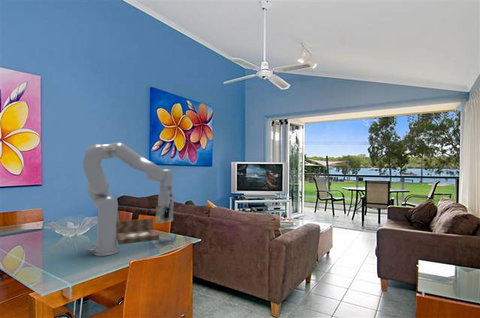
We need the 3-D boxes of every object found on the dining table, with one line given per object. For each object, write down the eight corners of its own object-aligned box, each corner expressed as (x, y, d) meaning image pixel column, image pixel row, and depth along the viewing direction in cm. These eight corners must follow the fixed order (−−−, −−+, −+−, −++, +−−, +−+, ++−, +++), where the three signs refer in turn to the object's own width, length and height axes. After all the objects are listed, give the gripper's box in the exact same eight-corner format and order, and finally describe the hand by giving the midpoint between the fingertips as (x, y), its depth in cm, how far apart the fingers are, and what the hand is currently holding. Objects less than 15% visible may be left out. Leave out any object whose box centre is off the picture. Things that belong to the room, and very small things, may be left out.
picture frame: (159, 223, 164) (159, 207, 165) (153, 222, 167) (154, 206, 168) (174, 220, 174) (174, 205, 175) (168, 220, 177) (169, 204, 177)
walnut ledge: (119, 244, 164) (119, 227, 164) (115, 237, 181) (116, 221, 182) (159, 239, 176) (159, 223, 177) (152, 232, 193) (152, 218, 194)
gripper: (179, 189, 170) (178, 218, 169) (162, 187, 179) (161, 215, 178) (169, 189, 164) (168, 220, 163) (152, 188, 173) (151, 217, 172)
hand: (164, 217), depth 170 cm, fingers closed on picture frame, 2 cm apart
